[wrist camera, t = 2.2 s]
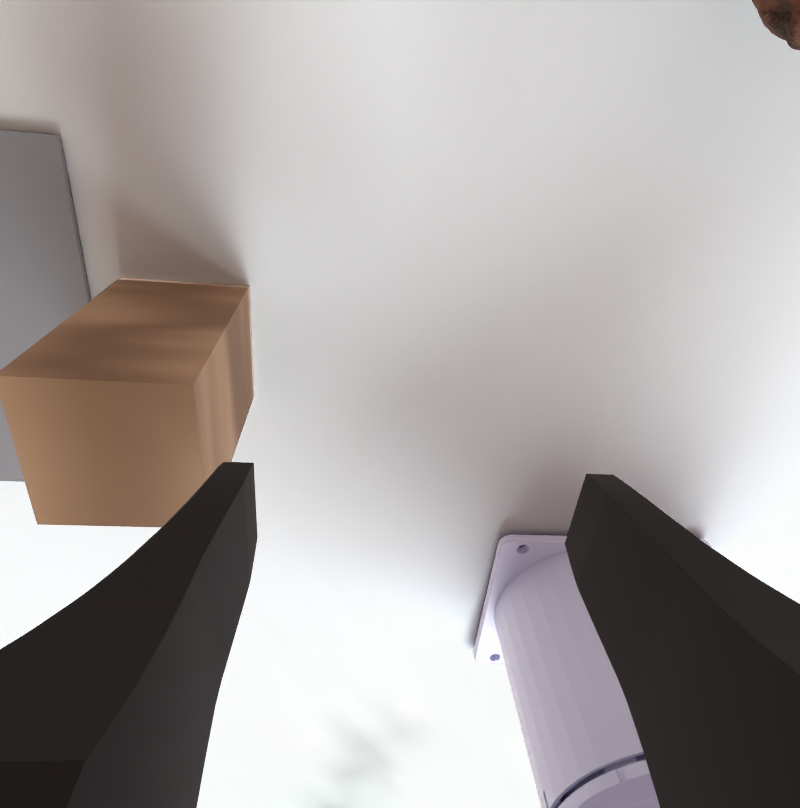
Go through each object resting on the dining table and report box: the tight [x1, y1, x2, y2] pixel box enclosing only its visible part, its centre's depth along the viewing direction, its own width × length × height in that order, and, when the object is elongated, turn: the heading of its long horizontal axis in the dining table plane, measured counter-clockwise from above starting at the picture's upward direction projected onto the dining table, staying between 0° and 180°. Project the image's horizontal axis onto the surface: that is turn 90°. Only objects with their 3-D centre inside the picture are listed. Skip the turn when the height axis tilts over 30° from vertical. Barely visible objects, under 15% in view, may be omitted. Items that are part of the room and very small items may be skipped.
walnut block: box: [0, 278, 254, 527], centre depth 16 cm, size 4×4×7 cm
